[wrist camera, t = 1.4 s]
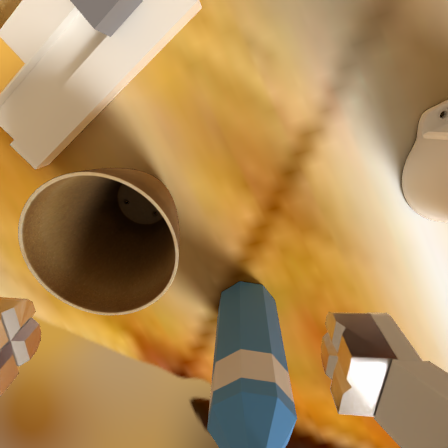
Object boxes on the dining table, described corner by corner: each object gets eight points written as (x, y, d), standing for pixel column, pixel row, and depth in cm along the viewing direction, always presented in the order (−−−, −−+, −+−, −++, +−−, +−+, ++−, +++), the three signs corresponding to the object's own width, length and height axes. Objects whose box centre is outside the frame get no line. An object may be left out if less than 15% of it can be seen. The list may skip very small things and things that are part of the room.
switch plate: (124, -101, 31) (112, -122, 28) (202, 7, 34) (198, -1, 31) (-27, 91, 38) (-48, 90, 35) (48, 164, 42) (34, 169, 39)
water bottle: (225, 332, 51) (214, 522, 28) (211, 286, 48) (186, 459, 25) (279, 323, 50) (316, 513, 27) (269, 275, 47) (300, 446, 24)
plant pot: (137, 262, 47) (91, 337, 32) (72, 181, 42) (-16, 225, 28) (218, 216, 44) (208, 276, 29) (157, 123, 39) (108, 137, 24)
